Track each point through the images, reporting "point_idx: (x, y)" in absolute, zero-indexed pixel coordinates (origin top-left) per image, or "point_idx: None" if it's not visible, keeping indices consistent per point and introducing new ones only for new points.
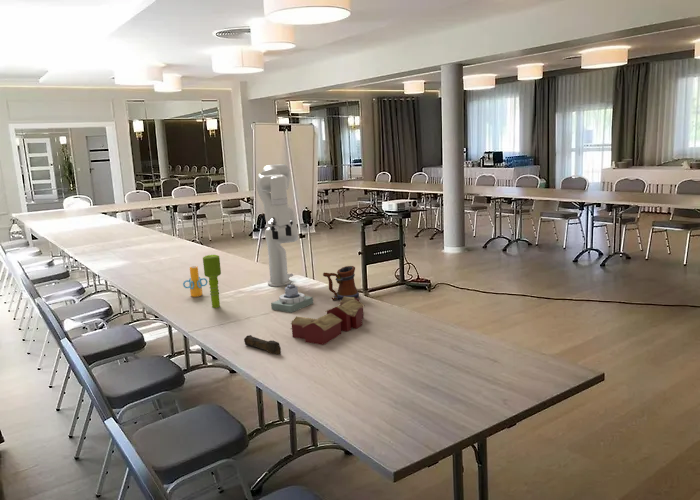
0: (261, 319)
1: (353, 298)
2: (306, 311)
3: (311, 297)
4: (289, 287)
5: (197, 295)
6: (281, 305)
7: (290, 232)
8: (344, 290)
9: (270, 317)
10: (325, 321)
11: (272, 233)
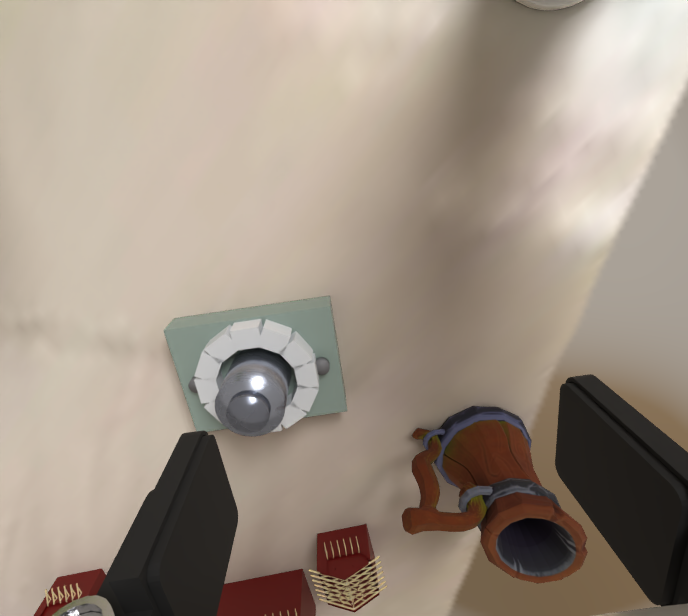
0: (66, 388)
1: (375, 577)
2: (252, 446)
3: (339, 410)
4: (229, 419)
5: None
6: (183, 384)
7: (595, 518)
8: (458, 484)
9: (108, 396)
10: None
11: (114, 559)
